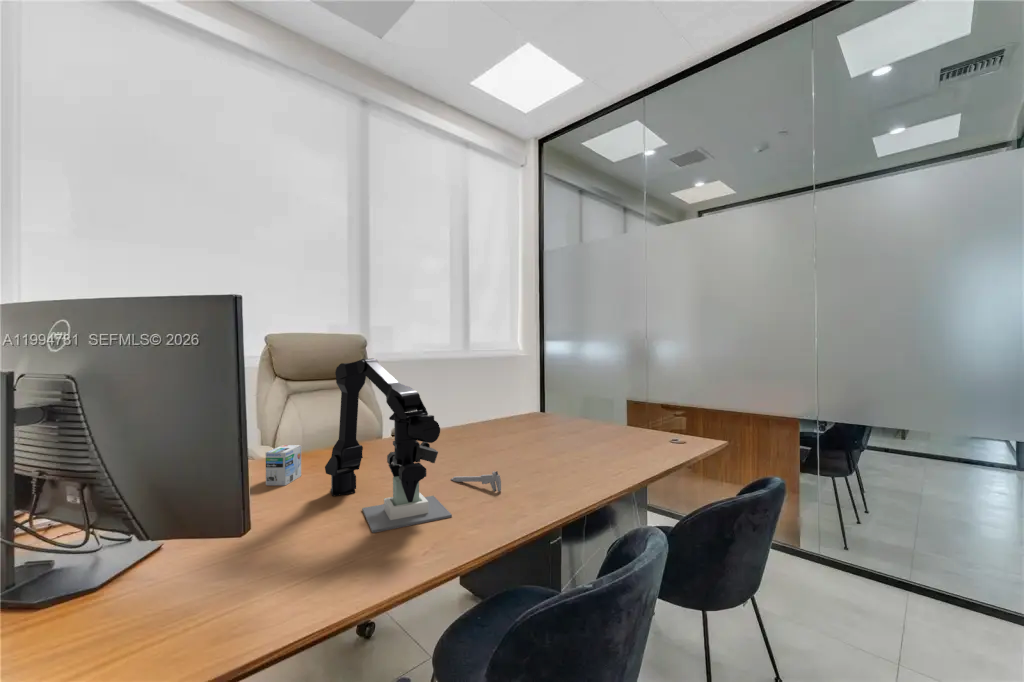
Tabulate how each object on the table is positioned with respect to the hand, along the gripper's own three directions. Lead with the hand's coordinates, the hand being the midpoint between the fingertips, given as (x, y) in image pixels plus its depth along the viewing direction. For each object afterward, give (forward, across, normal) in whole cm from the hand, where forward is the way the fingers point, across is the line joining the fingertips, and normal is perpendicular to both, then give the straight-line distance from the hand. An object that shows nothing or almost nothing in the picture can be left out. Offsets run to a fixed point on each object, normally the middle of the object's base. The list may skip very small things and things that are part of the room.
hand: (405, 496), depth 116 cm
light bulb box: (+5, +47, +29) cm, 55 cm away
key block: (+4, 0, 0) cm, 4 cm away
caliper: (+5, +12, -25) cm, 28 cm away
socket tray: (+5, 0, 0) cm, 5 cm away
